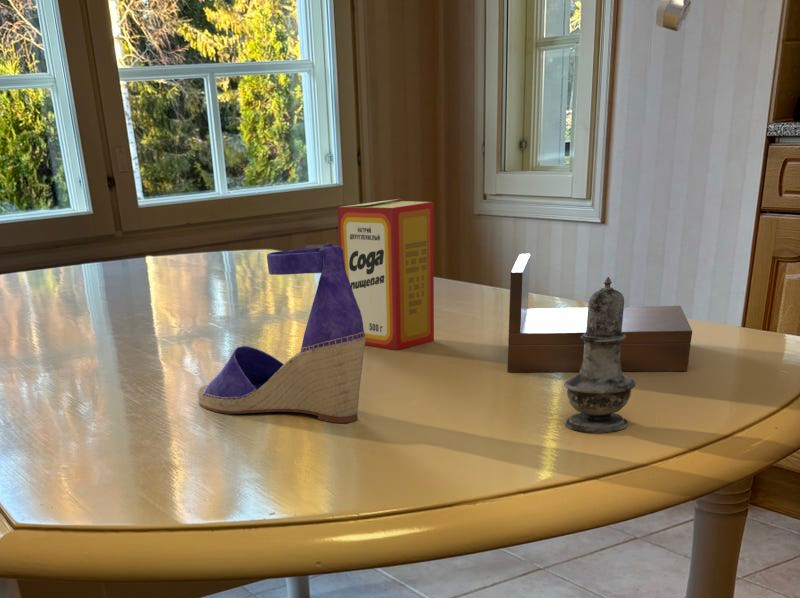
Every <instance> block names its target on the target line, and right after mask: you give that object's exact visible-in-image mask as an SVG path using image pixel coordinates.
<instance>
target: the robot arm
mask: <svg viewBox="0 0 800 598" xmlns="http://www.w3.org/2000/svg"><path fill="white" fill-rule="evenodd" d="M691 5H692V2H691V0H660V2H659V4H658V7H657V10H656V15H655V26H656V27H658V28H662V29H666V30H670V31H673V32H679V31H680V30H681V28H682V27H683V25H682V24H683V22H684V21H685V20H686V18H687V17H688V15H689V13H690V11H691Z"/></svg>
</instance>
